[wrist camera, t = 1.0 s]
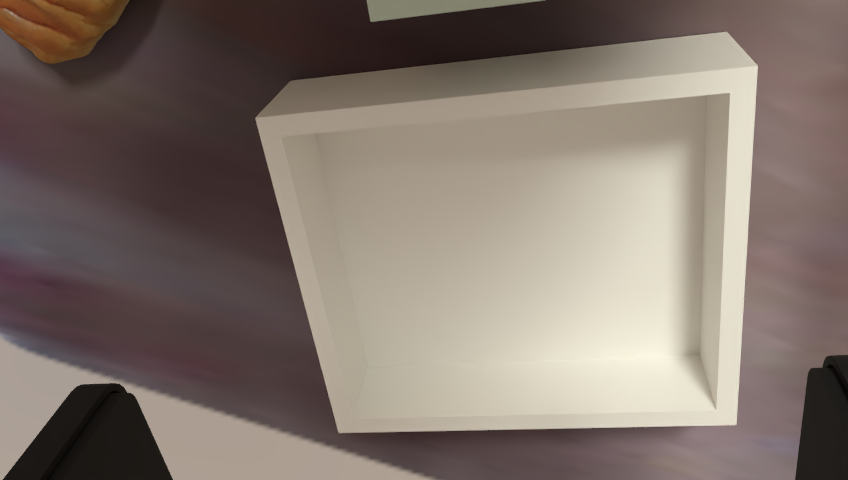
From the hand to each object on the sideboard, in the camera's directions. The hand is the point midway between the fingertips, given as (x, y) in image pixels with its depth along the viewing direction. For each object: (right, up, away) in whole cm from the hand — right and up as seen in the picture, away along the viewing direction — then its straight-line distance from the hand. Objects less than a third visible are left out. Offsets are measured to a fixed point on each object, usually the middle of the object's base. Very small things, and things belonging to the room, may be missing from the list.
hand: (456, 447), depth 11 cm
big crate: (+3, +3, +22) cm, 23 cm away
